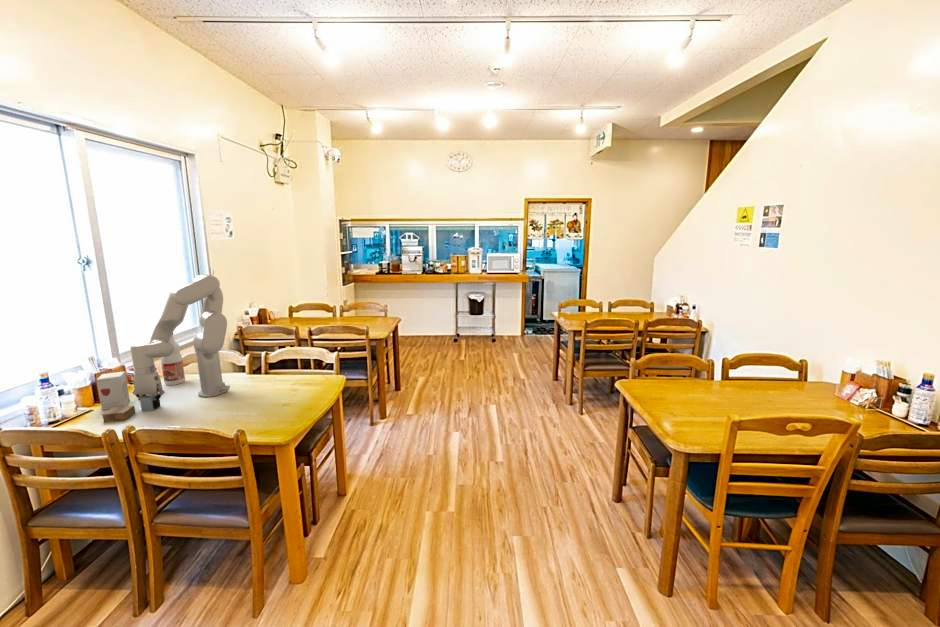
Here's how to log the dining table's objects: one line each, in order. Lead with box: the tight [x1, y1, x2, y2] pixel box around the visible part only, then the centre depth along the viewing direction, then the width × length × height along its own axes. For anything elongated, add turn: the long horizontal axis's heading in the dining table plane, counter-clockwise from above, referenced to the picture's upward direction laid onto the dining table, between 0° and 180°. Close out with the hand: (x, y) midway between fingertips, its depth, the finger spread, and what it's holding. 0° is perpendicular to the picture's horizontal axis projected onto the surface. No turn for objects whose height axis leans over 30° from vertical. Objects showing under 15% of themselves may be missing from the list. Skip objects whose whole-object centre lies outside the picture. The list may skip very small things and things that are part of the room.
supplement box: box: [96, 371, 131, 410], centre depth 198 cm, size 9×9×15 cm
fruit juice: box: [160, 332, 186, 386], centre depth 227 cm, size 9×9×28 cm
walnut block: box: [101, 405, 137, 423], centre depth 184 cm, size 8×8×4 cm
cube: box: [139, 394, 162, 412], centre depth 193 cm, size 5×5×6 cm
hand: (151, 407), depth 194 cm, fingers closed on cube, 5 cm apart
